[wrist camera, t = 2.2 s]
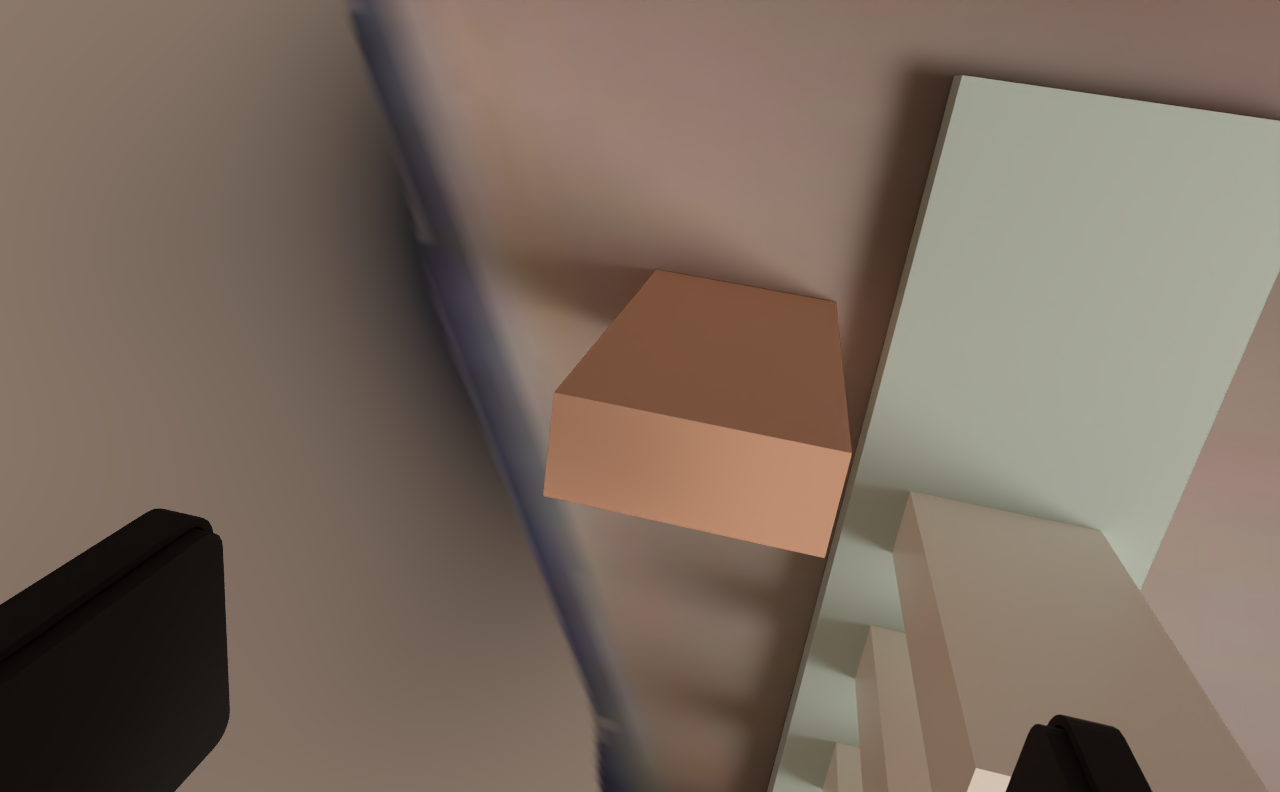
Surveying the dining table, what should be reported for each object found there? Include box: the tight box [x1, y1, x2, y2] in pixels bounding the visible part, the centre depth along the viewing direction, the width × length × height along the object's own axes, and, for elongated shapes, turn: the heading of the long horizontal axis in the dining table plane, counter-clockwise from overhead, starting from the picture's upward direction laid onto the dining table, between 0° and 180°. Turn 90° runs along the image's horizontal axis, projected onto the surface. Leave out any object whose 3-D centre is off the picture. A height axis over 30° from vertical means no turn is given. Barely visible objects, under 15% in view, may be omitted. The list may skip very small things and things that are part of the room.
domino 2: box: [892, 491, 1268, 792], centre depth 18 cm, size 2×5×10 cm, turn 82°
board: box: [767, 75, 1280, 792], centre depth 24 cm, size 27×8×1 cm, turn 172°
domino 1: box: [543, 269, 852, 558], centre depth 19 cm, size 2×5×10 cm, turn 82°
